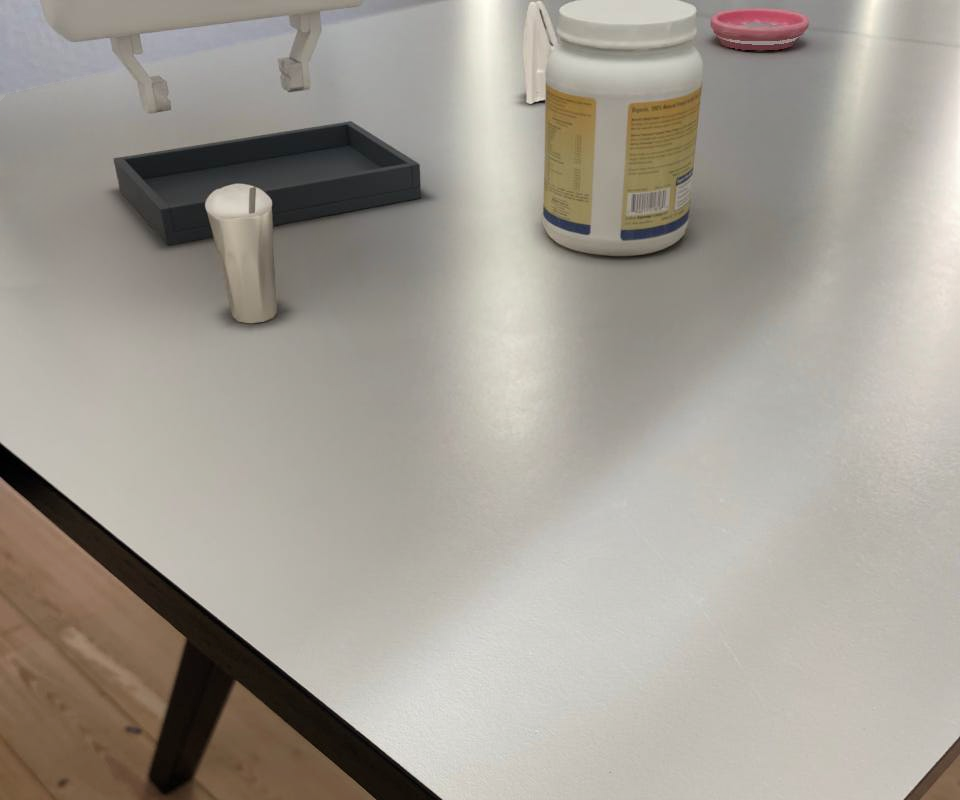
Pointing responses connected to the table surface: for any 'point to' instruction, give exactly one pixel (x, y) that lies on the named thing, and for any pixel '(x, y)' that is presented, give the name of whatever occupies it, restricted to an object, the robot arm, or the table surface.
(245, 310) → the milkshake
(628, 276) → the table surface
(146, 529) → the table surface
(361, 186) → the tray
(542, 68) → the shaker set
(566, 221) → the supplement tub
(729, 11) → the saucer
